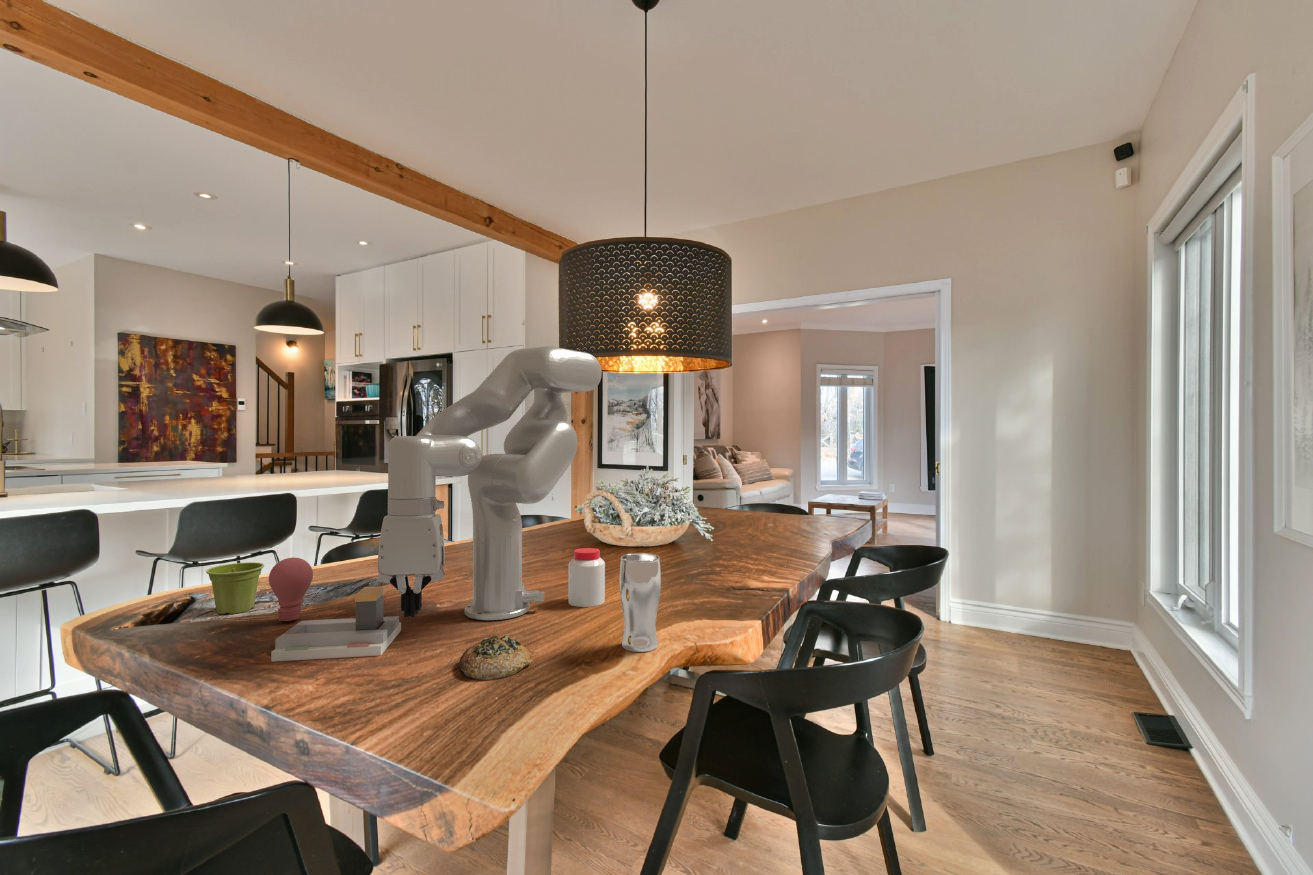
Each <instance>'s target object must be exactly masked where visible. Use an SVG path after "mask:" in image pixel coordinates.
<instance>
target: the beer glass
mask: <svg viewBox="0 0 1313 875" xmlns="http://www.w3.org/2000/svg"><path fill="white" fill-rule="evenodd" d="M660 562H661V559H660V555H658V554H654V553H648V552H647V553H646V552H634V553H627V554H626V553H625V554H623V555H621V556H620V564H619V565H620V568H619V581H618V582H619V595H620V603H621V607H622V608H621V609H622V613H623V621H624V622H623V623H624V624H623V625H624V629H623V630H624V631H623V637H622V642H621V647H622V648H623V650H626V651H627V652H632V653H645V652H646V653H648V652H651V651H654V650H656V649H657V648H658V647H659V643H658V635H657V630H656V624H657V623H656V622H657V615H658V609H659V602H660V597H661V588H662V587H661V585H662V584H661V583H662V580H661V578H662V577H661V563H660Z"/></svg>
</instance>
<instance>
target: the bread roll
mask: <svg viewBox="0 0 1313 875" xmlns="http://www.w3.org/2000/svg"><path fill="white" fill-rule="evenodd" d="M533 658H534V656H532V654H531V653H530V652H529V651H528V649H527V648H526V647H525V646H524V645H523V644H522V643H520V642H519V640H516V639H515V638H510V636H509V635H506V634H505V635H503V636H501V637H499V636H498V634H493V636H492V637H488V638H487V637H484V638H483V639H482V640H481V641H478V642H477V643H475V644H474V645H472V646H470V647H468V648H467V649H466V650H465V651H464V652H463V653H462V654H461V656H460V658H459V662H458V664H459V668H460V672H462V673H463V675H464V676H466V677H467V678H469V679H474V680H481V681H491V680H495V679H501V678H506V677H509V676H512V675H515V674H517V673H519V672H520V671H522V670H523V669H524V668H525V667H527V666H529V664H530V663H532V662H533V661H534V660H533Z"/></svg>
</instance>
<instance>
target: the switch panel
mask: <svg viewBox="0 0 1313 875" xmlns="http://www.w3.org/2000/svg"><path fill="white" fill-rule="evenodd" d="M401 631H402V622H400V616H399V615H397V616H392V615H391V616H383V624H382V625H381V626H380V627H379V628H378V630H360V631H356V617H355V618H353V617H351V618H335V619H334V618H331V619H327V618H326V619H308V620H300V621H299V622H298V623H296V624H295V625H294V626H292V627H291V628H289V629H288V630H287V631H285V632H284V633H282V634H281V635H279V636H278V637H276V639H275V640H274V641H275V645H274V647H275V648H274V649H273V650H272V651H271V652H270V654H271V657H270V658H271V659H270V660H271V662H288V661H302V660H303V661H305V660H306V661H307V660H321V659H322V660H323V659H341V658H357V657H361V658H362V657H374V656H375V657H376V656H377V657H379V656H382V655H383V653H384V652H385V651H386V650H387V649H388V647H390V645H391V643H392V642H394V640H395V638H397V636H398V635H399V634H400V632H401Z"/></svg>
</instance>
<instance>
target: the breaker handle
mask: <svg viewBox="0 0 1313 875" xmlns="http://www.w3.org/2000/svg"><path fill="white" fill-rule="evenodd" d="M384 594H385V586H364V587H363V588H361V589H360V590H358V592H357V593H355V594H354V602H355V618H356V631H360V630H378V628H379V627H380V626H381V625H382V624H383V617H384V606H385V605H384V602H385V600H384Z"/></svg>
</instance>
